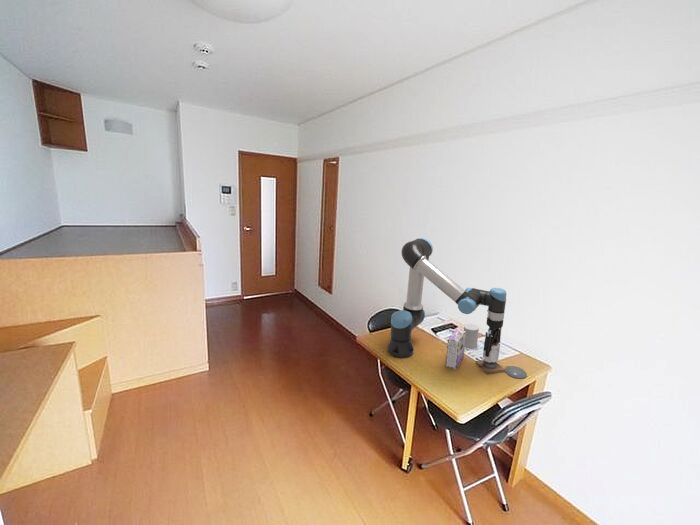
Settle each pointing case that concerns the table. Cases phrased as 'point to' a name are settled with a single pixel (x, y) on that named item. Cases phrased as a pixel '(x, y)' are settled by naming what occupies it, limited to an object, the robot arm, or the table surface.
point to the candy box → (455, 348)
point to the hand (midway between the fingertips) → (490, 358)
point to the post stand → (489, 367)
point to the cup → (471, 336)
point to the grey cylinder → (494, 352)
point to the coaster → (515, 372)
